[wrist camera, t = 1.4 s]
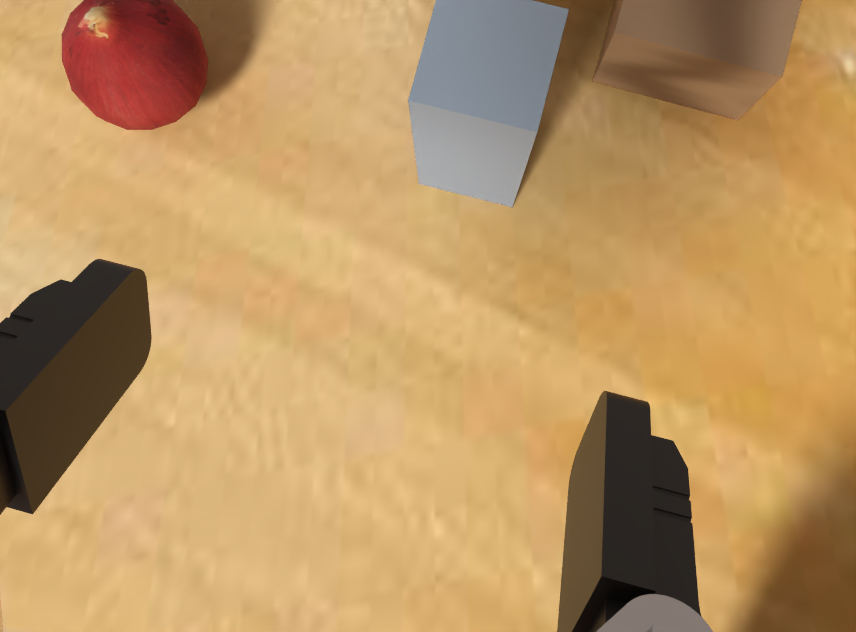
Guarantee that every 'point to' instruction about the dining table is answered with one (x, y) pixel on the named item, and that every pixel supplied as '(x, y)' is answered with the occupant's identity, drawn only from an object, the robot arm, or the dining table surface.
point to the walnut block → (698, 51)
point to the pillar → (482, 93)
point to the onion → (134, 61)
